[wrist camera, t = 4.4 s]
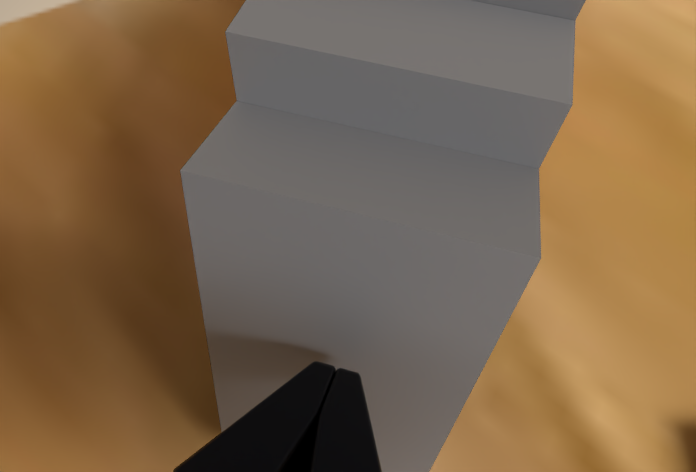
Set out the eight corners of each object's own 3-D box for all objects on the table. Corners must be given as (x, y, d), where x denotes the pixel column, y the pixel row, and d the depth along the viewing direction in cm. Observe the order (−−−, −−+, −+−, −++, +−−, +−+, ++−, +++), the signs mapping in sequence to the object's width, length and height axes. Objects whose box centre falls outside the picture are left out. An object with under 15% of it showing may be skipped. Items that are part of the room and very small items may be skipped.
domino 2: (405, 516, 14) (541, 258, 7) (226, 462, 14) (179, 170, 7) (416, 444, 15) (539, 169, 8) (253, 397, 16) (236, 101, 9)
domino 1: (435, 365, 15) (571, 104, 7) (273, 321, 16) (225, 31, 8) (446, 306, 16) (576, 20, 8) (294, 267, 17) (271, -38, 9)
